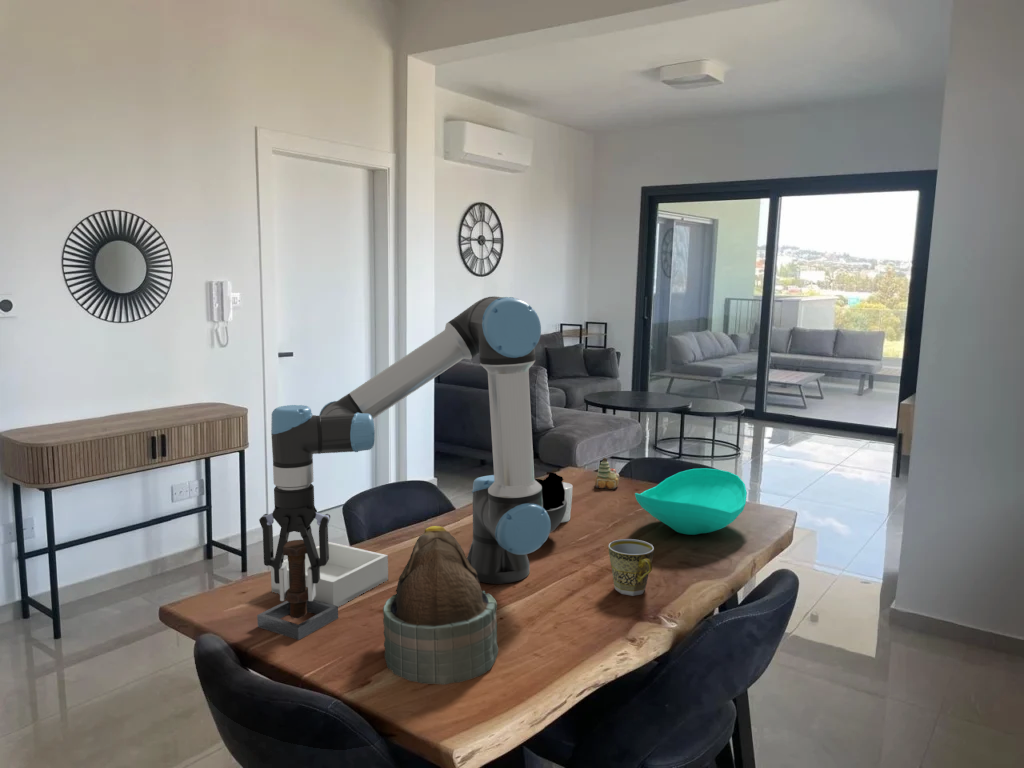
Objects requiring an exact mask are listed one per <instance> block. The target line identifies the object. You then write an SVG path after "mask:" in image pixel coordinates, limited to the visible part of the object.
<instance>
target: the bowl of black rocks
mask: <svg viewBox="0 0 1024 768" xmlns="http://www.w3.org/2000/svg"><path fill="white" fill-rule="evenodd" d="M534 479H535V480H536V481H537V482H538V483H539V484H540V485H541V486H542V499H543V508H544V509H545V510H546V511H547V513H548V515H549V518H550V522H551V529H550V533H549V534H551V533H553V531H555V530H556V529H557V528H558V526H559V525H560V524H561V523H562V522H561V521H562V519H563V517H564V514H565V511H566V506H567V502H566V500H565V490H564V487H563V483H562V482H563V481H564V478H563V476H561V475H558V474H557V473H556V472H549V473H548V476H547V477H545V478H544V479H539V478H534ZM560 522H561V523H560Z"/></svg>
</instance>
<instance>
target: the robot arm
mask: <svg viewBox="0 0 1024 768" xmlns="http://www.w3.org/2000/svg"><path fill="white" fill-rule="evenodd" d="M541 335H542V325H541V321H540V318H539V316H538V313H537V312H536V310H535V309H534V308H533V307H532V306H531V305H530V304H528V303H527V302H525V301H523V300H521V299H519V298H516V297H512V296H510V297H509V296H503V297H502V296H487V297H484V298H481V299H480V300H478V301H476V302H474V303H473V304H472V305H470V306H469V307H467V308H466V309H465V310H463V311H462V312H461V313H459V314H458V315H456V316H455V317H454V318H452V319H451V320H449V321H448V322H446V323H445V328H444V329H443V330H442V331H441V332H439V333H438V334H436V335H435V336H433V337H431V338H430V339H428V340H427V341H426V342H425V343H422V344H421V345H420V346H418V347H417V348H415V349H414V350H412V351H410V352H409V353H408V354H406V355H404V356H403V357H401V358H400V359H398V360H397V361H396V362H394V363H392V364H391V365H389V366H388V367H386V368H385V369H383V370H381V371H380V372H379V373H377V374H376V375H374V376H373V377H371V378H370V379H368V380H366V381H365V382H364V383H362V384H361V385H359V386H357V387H356V388H355V389H353V390H352V391H350V392H348V393H347V394H345V395H344V396H343V397H341V398H339V399H338V400H334V401H329V402H328V403H326V404H324V406H323V407H322V408H321V410H320V411H319V415H313V413H312V409H311V407H310V406H307V405H305V404H304V405H302V404H300V405H297V404H290V405H282V406H278V407H276V408H274V409H273V411H272V412H271V424H270V425H271V431H270V432H271V433H270V434H271V450H272V451H271V452H272V453H271V454H272V471H273V472H272V473H273V474H272V477H273V478H272V479H273V485H274V486H275V487H274V488H273V497H274V499H273V500H274V502H273V503H274V509H273V510H272V512H271V513H264V514H263V515H261V517H260V518H259V519H258V520H259V524H260V526H261V529H262V545H263V546H262V547H263V549H262V550H263V565H264V566H266V567H268V566H270V567H271V566H272V567H273V568H274V580H275V583H276V584H280V594H279V601H280V602H285V601H286V600H287V593H286V591H287V590H288V585H287V565H282V563H283V562H284V561H283V560H285V555H283V546H284V545H285V544H286V543H287V542H288V541H289V536H290V534H291V533H292V532H295V533H300V537H301V538H302V540H303V541H304V545H305V546H306V551H307V555H308V558H309V561H310V567H309V568H308V569H307V573H308V601H313V599H314V597H315V596H316V591H315V583H318V582H319V580H320V566H325V565H326V563H327V562H328V560H329V546H328V542H329V528H328V527H329V523H330V520H331V515H330V514H329V513H326V514H323V513H320V512H318V510H317V508H316V506H315V488H314V487H315V485H314V484H312V483H313V482H314V459H313V458H314V457H313V455H317V454H318V455H320V454H332V453H333V454H335V453H336V454H337V453H352V452H354V453H358V452H363V451H370V450H372V449H373V448H374V445H375V440H376V438H375V437H376V436H375V422H374V419H376V417H379V416H380V415H381V414H383V413H385V411H387V410H389V409H390V408H391V407H393V406H395V405H397V404H398V403H399V402H400V401H403V400H404V399H405V398H407V397H408V396H409V395H411V394H413V393H414V392H416V391H417V390H419V389H420V388H422V387H423V386H425V385H426V384H428V383H429V382H431V381H432V380H434V379H435V378H437V377H438V376H440V375H441V374H443V373H445V371H447V370H448V369H450V368H452V367H453V366H454V365H456V364H458V363H459V362H461V361H462V360H464V359H465V360H472V359H473V358H475V357H476V356H478V355H479V365H480V366H481V367H483V369H485V370H486V372H487V381H488V396H489V397H488V398H489V399H488V400H489V414H490V427H491V430H490V431H491V445H492V446H491V447H492V448H491V449H492V460H493V474H490V475H484V476H480V477H479V476H478V477H476V478H475V479H474V480H473V483H472V491H471V494H472V541H471V544H470V547H469V551H468V554H467V556H466V558H467V559H468V561H469V563H470V564H471V566H472V567H473V568H474V569H475V570H476V572H477V574H478V575H477V577H478V580H479V582H480V583H485V584H499V585H500V584H510V583H515V582H518V581H521V580H523V579H525V578H527V577H528V575H529V574H530V571H531V570H530V569H531V568H530V566H531V565H530V563H531V562H530V559H529V558H528V554H531V553H534V552H535V551H537V550H539V549H540V548H541V547H542V546H543V545H544V543H545V542H546V541H547V540H548V538H549V536H550V534H551V533H550V529H551V522H550V518H549V515H548V513H547V511H546V510H545V509H544V508H543V499H542V486H541V485H540V484H539V483H538V482H537V481H536V480H535V479H536V478H535V468H534V465H535V464H534V448H533V447H534V446H533V430H532V429H533V428H532V427H533V426H532V412H531V411H532V409H531V392H530V391H531V390H530V374H529V373H530V368H531V367H532V366H533V365H534V363H535V362H536V347H537V345H538V344H539V341H540V339H541ZM314 520H316V525H318V542H319V544H318V546H319V549H320V558H319V556H318V553H317V549H316V542H315V540H314V539H315V538H314V536H313V533H312V526H311V524H312V522H313V521H314ZM274 521H276V523H277V524H278V526H280V531H279V538H278V542H277V548H276V551H275V554H274V532H273V531H274V528H273V524H274V523H275V522H274ZM274 555H275V556H274Z"/></svg>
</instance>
